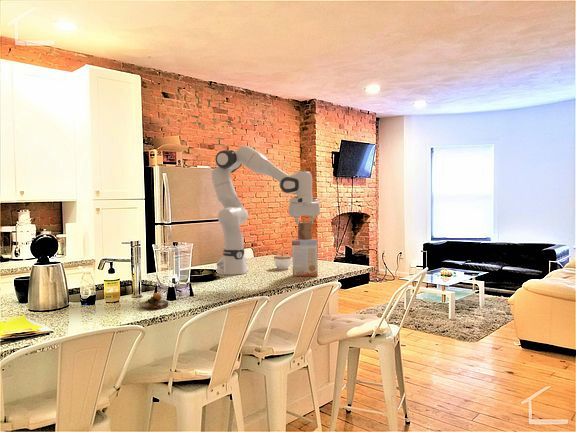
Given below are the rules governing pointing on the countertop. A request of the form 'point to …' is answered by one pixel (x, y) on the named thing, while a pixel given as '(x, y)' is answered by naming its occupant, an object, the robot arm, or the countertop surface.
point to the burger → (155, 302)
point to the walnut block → (305, 230)
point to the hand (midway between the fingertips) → (304, 223)
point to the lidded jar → (282, 261)
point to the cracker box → (304, 257)
